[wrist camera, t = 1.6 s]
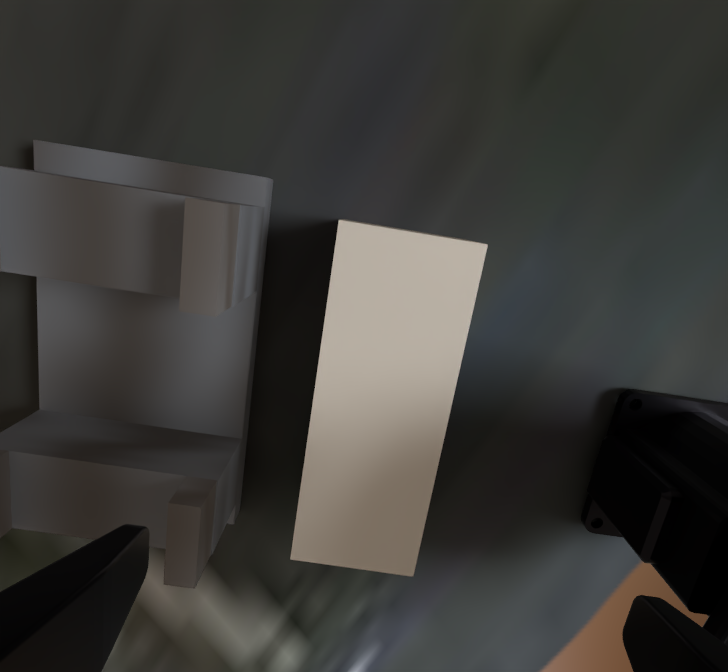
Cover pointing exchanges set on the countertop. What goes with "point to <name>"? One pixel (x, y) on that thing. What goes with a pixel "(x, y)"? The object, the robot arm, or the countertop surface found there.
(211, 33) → the countertop surface
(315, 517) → the clay block
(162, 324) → the dark grey angular piece
